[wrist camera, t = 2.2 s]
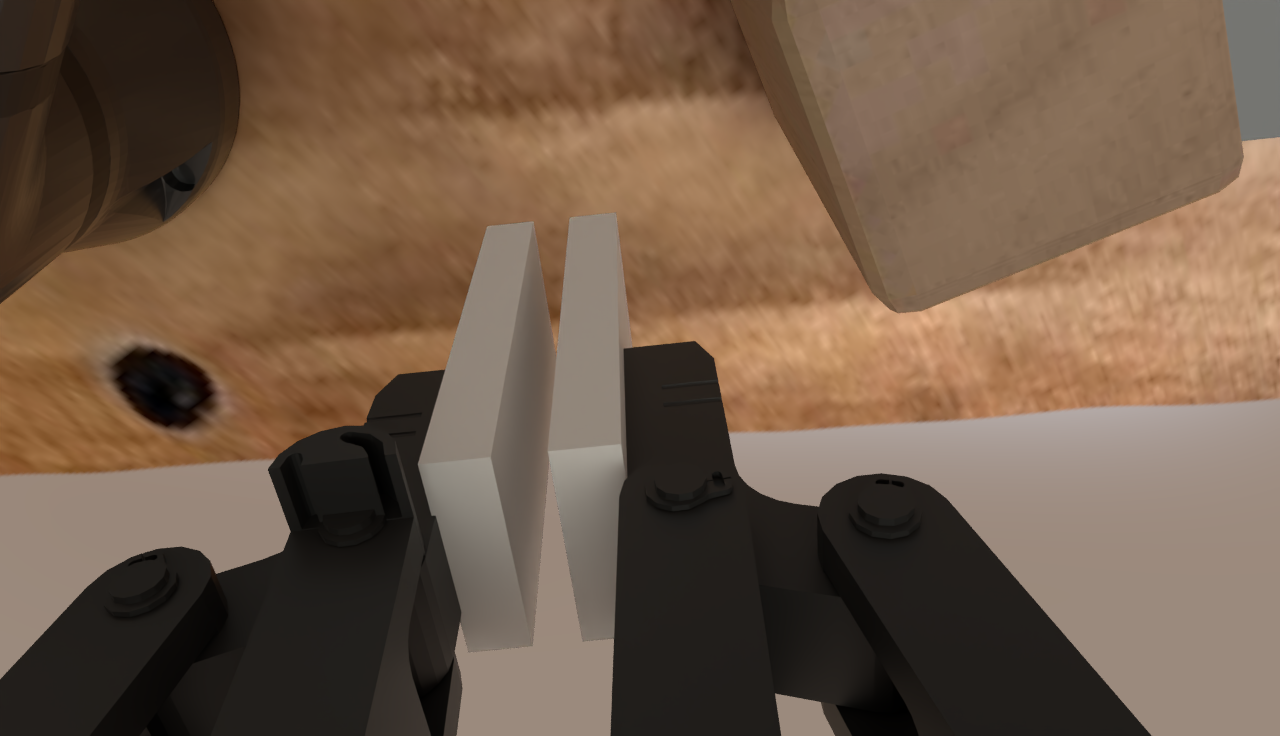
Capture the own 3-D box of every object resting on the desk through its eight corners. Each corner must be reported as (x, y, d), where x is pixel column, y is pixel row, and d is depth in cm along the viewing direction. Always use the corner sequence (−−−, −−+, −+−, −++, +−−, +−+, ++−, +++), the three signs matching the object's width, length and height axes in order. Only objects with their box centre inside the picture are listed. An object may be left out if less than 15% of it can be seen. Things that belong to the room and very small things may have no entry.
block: (993, 33, 42) (1267, 190, 24) (779, 130, 44) (892, 338, 26) (930, -210, 37) (1213, -229, 20) (693, -90, 39) (762, -13, 22)
